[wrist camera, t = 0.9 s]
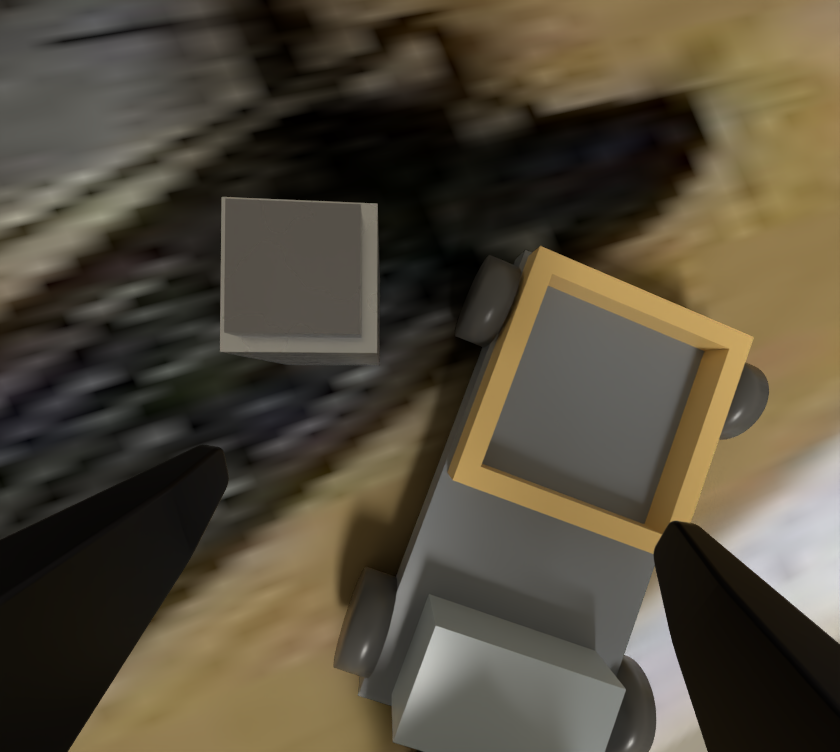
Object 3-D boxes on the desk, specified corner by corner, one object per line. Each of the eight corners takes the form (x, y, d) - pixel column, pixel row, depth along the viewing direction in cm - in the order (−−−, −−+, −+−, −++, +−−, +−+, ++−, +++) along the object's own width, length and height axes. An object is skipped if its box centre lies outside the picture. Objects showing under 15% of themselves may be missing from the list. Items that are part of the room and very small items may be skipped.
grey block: (379, 365, 22) (376, 350, 12) (287, 364, 22) (206, 349, 12) (380, 276, 22) (376, 188, 12) (288, 273, 22) (207, 181, 12)
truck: (583, 724, 23) (647, 832, 17) (334, 643, 22) (316, 732, 16) (711, 353, 24) (809, 344, 18) (481, 256, 23) (512, 216, 17)
